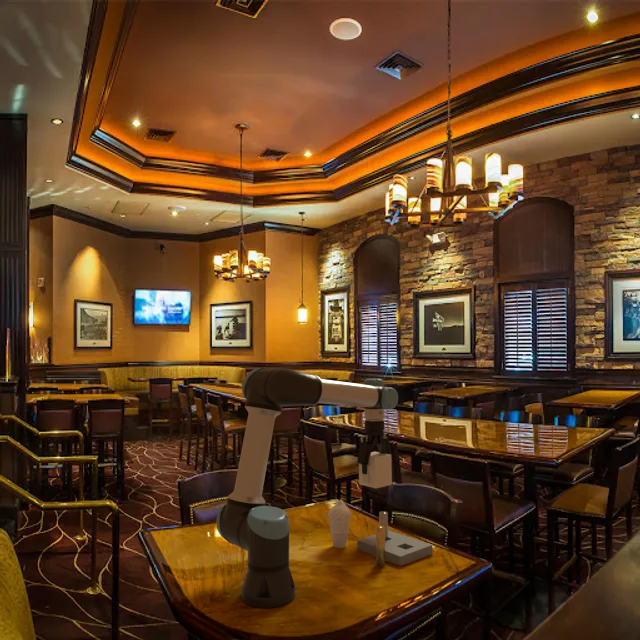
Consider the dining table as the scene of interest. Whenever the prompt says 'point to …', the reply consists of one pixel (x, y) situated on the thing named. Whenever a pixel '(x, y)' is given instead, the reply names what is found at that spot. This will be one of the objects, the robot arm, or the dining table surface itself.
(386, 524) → the steel pin
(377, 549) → the brass pin
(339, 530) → the soft serve ice cream cone
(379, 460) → the block
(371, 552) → the socket board
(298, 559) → the dining table surface
